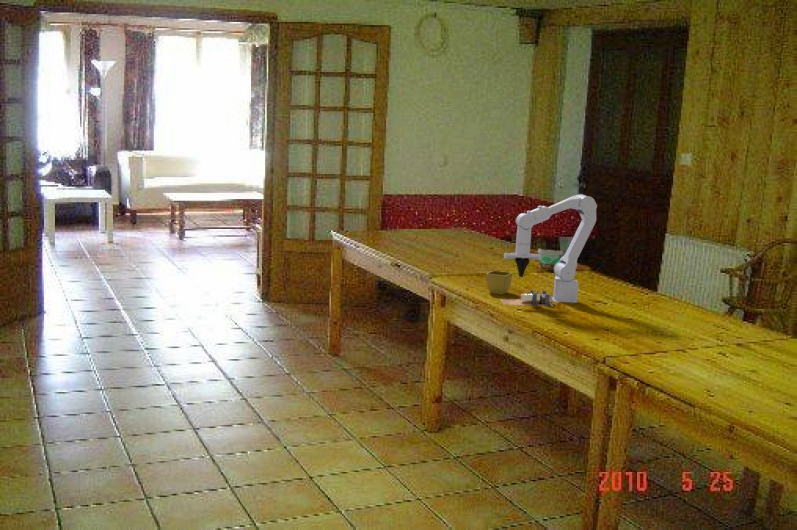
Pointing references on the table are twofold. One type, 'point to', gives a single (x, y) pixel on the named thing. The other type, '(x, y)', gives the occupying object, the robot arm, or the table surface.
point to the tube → (540, 299)
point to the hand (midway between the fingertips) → (520, 276)
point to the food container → (549, 258)
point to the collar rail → (534, 298)
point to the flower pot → (498, 281)
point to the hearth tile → (517, 302)
